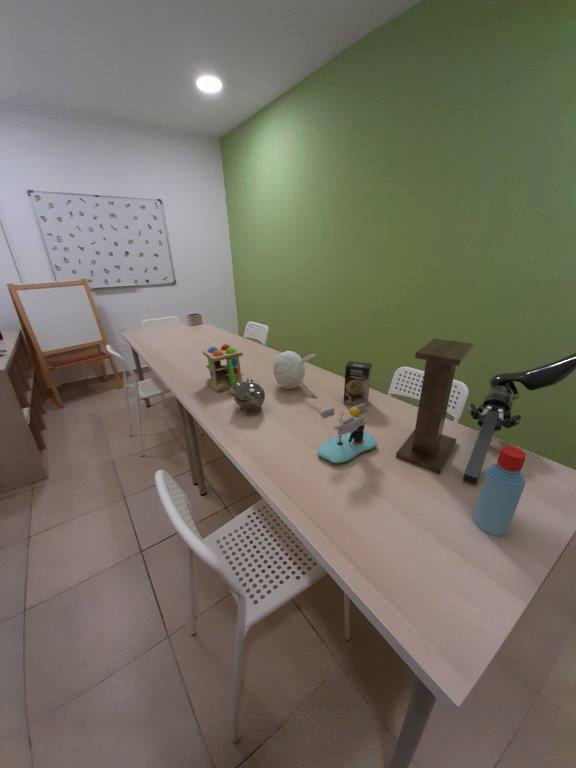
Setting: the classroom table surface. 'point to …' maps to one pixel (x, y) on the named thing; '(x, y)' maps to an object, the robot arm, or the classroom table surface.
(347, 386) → the coffee box
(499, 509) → the bottle
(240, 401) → the piggy bank
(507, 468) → the cap
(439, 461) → the stand
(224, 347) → the pounding bench toy
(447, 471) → the classroom table surface
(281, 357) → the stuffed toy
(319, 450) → the penguin figurine
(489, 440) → the dark grey bar
